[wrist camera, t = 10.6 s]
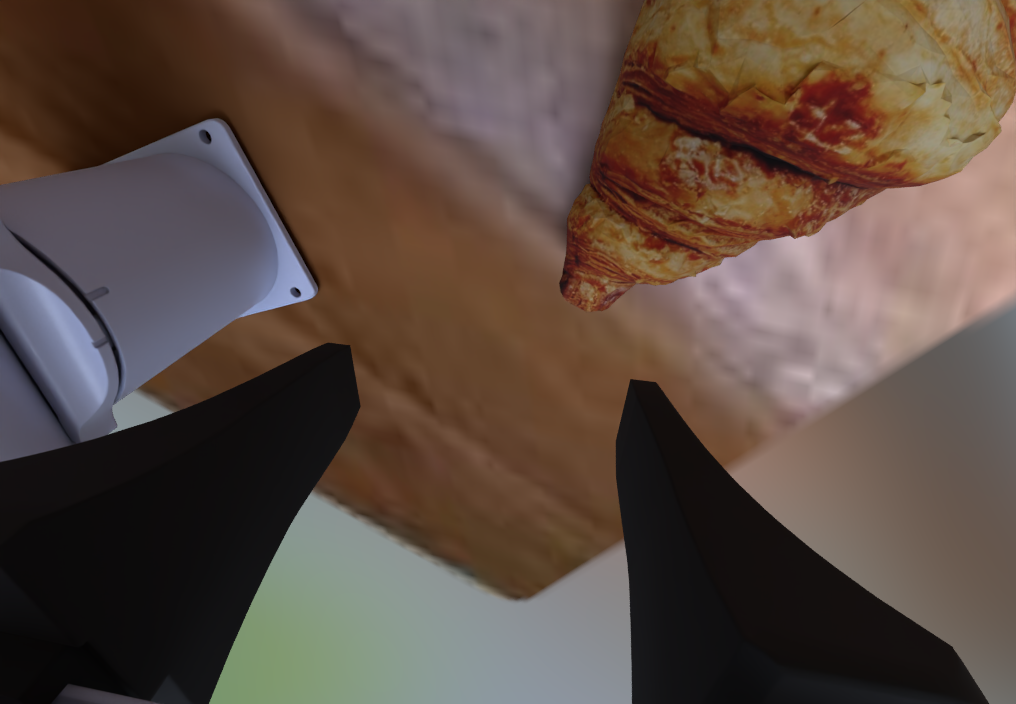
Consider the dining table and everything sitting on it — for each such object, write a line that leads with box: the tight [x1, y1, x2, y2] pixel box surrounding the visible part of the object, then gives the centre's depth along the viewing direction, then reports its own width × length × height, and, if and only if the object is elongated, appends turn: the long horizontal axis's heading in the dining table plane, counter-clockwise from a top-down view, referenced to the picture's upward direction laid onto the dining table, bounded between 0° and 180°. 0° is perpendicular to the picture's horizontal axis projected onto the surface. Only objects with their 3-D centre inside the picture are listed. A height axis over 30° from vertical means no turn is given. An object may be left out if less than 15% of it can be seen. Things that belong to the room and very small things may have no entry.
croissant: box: [559, 0, 1016, 312], centre depth 12 cm, size 21×10×8 cm
